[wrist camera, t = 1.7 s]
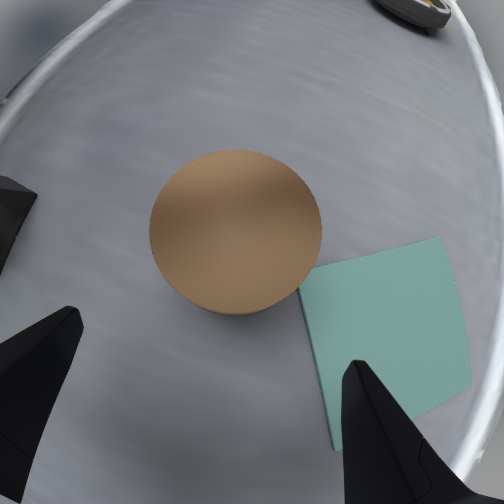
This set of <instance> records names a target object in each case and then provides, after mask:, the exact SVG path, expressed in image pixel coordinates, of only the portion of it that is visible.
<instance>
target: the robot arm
mask: <svg viewBox="0 0 504 504" xmlns="http://www.w3.org/2000/svg"><path fill="white" fill-rule="evenodd" d="M83 328H84V327H83V322H82V319H81V315H80V312H79V310H78V309H77V308H75V307H72V306H65V307H63V308H62V309H60V310H58V311H56V312H54V313H53V314H51V315H49V316H47V317H46V318H44V319H42V320H40V321H39V322H37V323H35V324H33V325H32V326H30V327H28V328H26V329H25V330H23V331H21V332H19V333H18V334H16V335H14V336H13V337H11V338H9V339H7V340H6V341H4V342H2V343H1V344H0V494H1V495H3V496H5V497H7V498H9V499H11V500H13V501H15V502H17V503H19V504H21V501H22V498H23V494H24V490H25V486H26V483H27V479H28V476H29V473H30V469H31V466H32V463H33V460H34V456H35V454H36V451H37V448H38V445H39V442H40V439H41V436H42V434H43V431H44V428H45V426H46V423H47V420H48V418H49V415H50V413H51V410H52V408H53V406H54V403H55V401H56V398H57V396H58V394H59V391H60V389H61V387H62V384H63V382H64V380H65V378H66V376H67V373H68V371H69V369H70V366H71V364H72V361H73V358H74V355H75V352H76V349H77V347H78V344H79V341H80V338H81V336H82V333H83ZM341 433H342V448H343V466H344V494H345V504H504V500H501V499H496V498H492V497H488V496H484V495H480V494H477V493H475V492H473V491H472V490H470V489H469V488H468V487H467V486H466V485H465V484H464V483H463V482H462V481H461V480H460V479H459V478H458V477H457V476H456V475H455V474H454V473H453V471H452V470H451V469H450V468H449V467H448V466H447V465H446V464H445V463H444V462H443V460H442V459H441V458H440V457H439V456H438V455H437V453H436V452H435V451H434V449H433V448H432V447H431V446H430V444H429V443H428V442H427V440H426V439H425V438H423V435H422V434H421V432H420V431H419V430H418V428H417V427H416V426H415V425H414V423H413V422H412V421H411V419H410V418H409V417H408V415H407V414H406V413H405V411H404V410H403V409H402V407H401V406H400V405H399V403H398V402H397V401H396V400H395V398H394V397H393V396H392V394H391V393H390V392H389V390H388V389H387V388H386V387H385V385H384V384H383V383H382V381H381V380H380V379H379V378H378V376H377V375H376V374H375V372H374V371H373V370H372V369H371V367H370V366H369V365H368V363H367V362H366V361H364V360H352V361H351V362H350V364H349V366H348V368H347V369H346V371H345V373H344V374H343V377H342V398H341Z"/></svg>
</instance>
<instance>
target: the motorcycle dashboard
mask: <svg viewBox="0 0 504 504" xmlns="http://www.w3.org/2000/svg"><path fill="white" fill-rule="evenodd" d="M376 1H377V2H378V3H379V4H380V5H382V6H383V7H384V8H385V9H387V10H388V11H390V12H391V13H393V14H395V15H396V16H398V17H400V18H402V19H404V20H406V21H408V22H410V23H412V24H415V25H417V26H420V27H424V28H425V29H426V33H425V34H426V35H427V36H428V34H431V33H434V32H435V31H436V29H437V28H444V26H445V25H446V23H447V21H448V20H449V18H450V16H451V11H450V7H449V6H448V5H447V4H446V3H445V2H444V1H443V0H376Z"/></svg>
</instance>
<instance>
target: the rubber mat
mask: <svg viewBox="0 0 504 504" xmlns="http://www.w3.org/2000/svg"><path fill="white" fill-rule="evenodd" d="M297 289H298V293H299V297H300V301H301V305H302V309H303V314H304V318H305V322H306V326H307V330H308V334H309V339H310V343H311V347H312V352H313V356H314V360H315V365H316V369H317V374H318V378H319V383H320V387H321V392H322V396H323V401H324V406H325V411H326V415H327V420H328V425H329V430H330V435H331V440H332V445H333V450H334V451H335V452H338V451H341V450H343V448H342V433H341V398H342V377H343V374H344V373H345V371H346V369H347V368H348V366H349V364H350V362H351V361H352V360H364V361H366V362H367V363H368V365H369V366H370V367H371V369H372V370H373V371H374V372H375V374H376V375H377V376H378V378H379V379H380V380H381V381H382V383H383V384H384V385H385V387H386V388H387V389H388V390H389V392H390V393H391V394H392V396H393V397H394V398H395V400H396V401H397V402H398V403H399V405H400V406H401V407H402V409H403V410H404V411H405V413H406V414H407V415H408V417H409V418H410V419H411V420H412V419H414V418H416V417H418V416H420V415H422V414H424V413H426V412H427V411H429V410H431V409H433V408H435V407H436V406H438V405H440V404H441V403H443V402H445V401H446V400H448V399H450V398H451V397H453V396H455V395H456V394H458V393H459V392H461V391H462V390H464V389H465V388H467V387H468V386H470V385H471V384H472V374H471V365H470V357H469V349H468V343H467V336H466V330H465V325H464V319H463V314H462V310H461V305H460V300H459V296H458V292H457V288H456V284H455V280H454V276H453V272H452V268H451V265H450V261H449V258H448V255H447V251H446V248H445V245H444V242H443V239H442V236H439V237H436V238H432V239H428V240H425V241H421V242H417V243H413V244H410V245H406V246H402V247H398V248H394V249H390V250H386V251H382V252H378V253H374V254H370V255H366V256H362V257H358V258H354V259H350V260H346V261H342V262H338V263H334V264H330V265H325V266H321V267H317V268H313V269H312V270H311V271H310V273H309V274H308V276H307V277H306V279H305V280H304V281H303V282H302V283H301V285H300V286H299V287H298V288H297Z"/></svg>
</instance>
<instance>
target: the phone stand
mask: <svg viewBox="0 0 504 504" xmlns="http://www.w3.org/2000/svg"><path fill="white" fill-rule="evenodd" d="M36 198H37V194H36V193H35V192H33V191H31V190H29V189H27V188H26V187H24V186H22V185H20V184H19V183H17V182H15V181H13V180H12V179H10V178H8V177H5V176H0V275H1V272H2V269H3V267H4V264H5V262H6V260H7V257H8V255H9V253H10V250H11V248H12V246H13V243H14V241H15V236H16V235H18V233H19V231H20V229H21V227H22V224H23V222H24V220H25V219H26V217H27V215H28V213H29V211H30V209H31V207H32V205H33V203H34V202H35V200H36Z"/></svg>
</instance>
